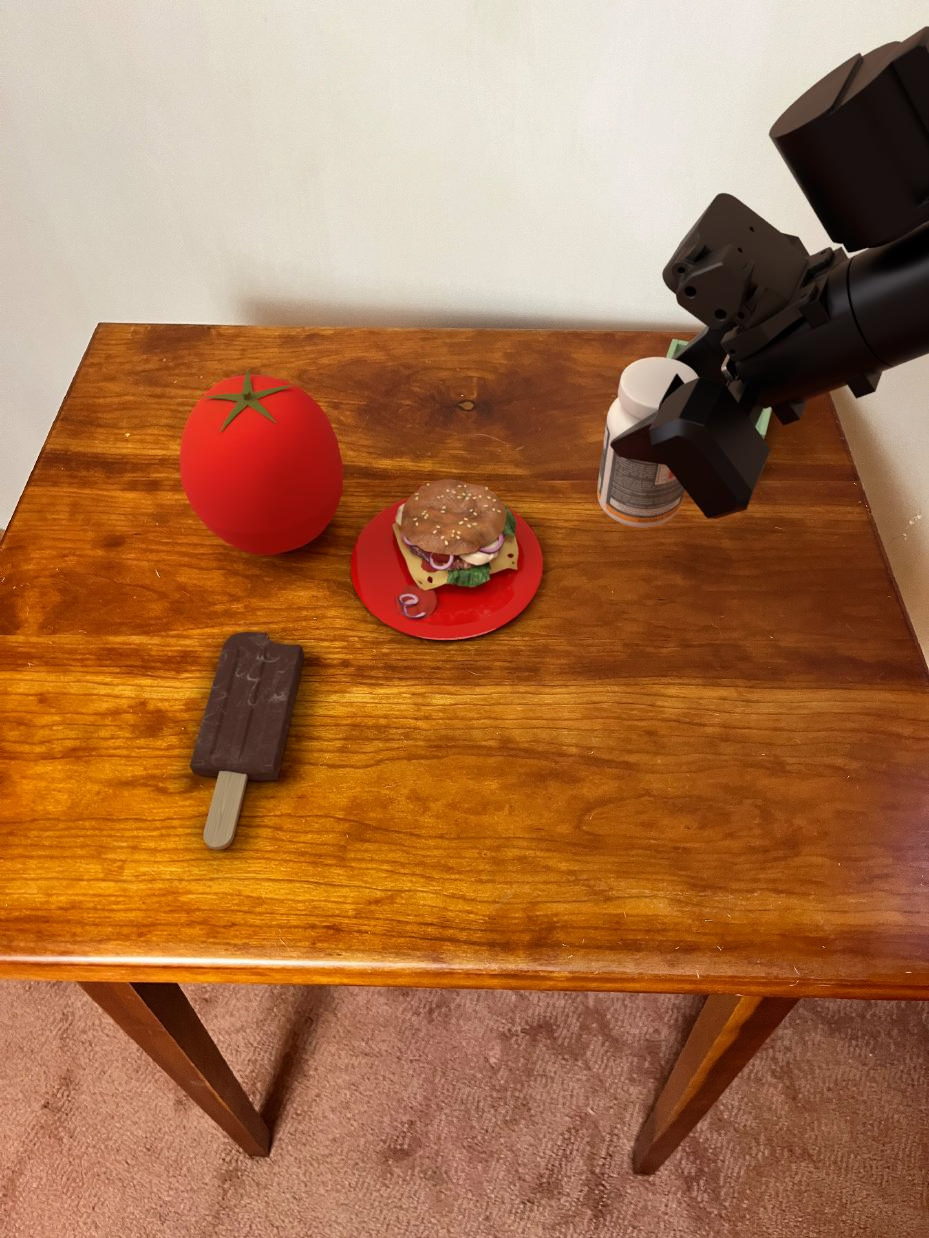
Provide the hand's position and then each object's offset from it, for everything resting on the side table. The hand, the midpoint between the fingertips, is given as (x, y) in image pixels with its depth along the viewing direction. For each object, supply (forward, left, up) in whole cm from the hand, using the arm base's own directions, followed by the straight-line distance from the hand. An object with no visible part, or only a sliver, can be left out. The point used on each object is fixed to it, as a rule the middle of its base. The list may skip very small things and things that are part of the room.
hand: (632, 418), depth 56 cm
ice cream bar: (+18, +22, -14) cm, 32 cm away
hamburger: (+11, +4, -14) cm, 18 cm away
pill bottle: (-1, 0, -7) cm, 7 cm away
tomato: (+24, +5, -14) cm, 28 cm away
